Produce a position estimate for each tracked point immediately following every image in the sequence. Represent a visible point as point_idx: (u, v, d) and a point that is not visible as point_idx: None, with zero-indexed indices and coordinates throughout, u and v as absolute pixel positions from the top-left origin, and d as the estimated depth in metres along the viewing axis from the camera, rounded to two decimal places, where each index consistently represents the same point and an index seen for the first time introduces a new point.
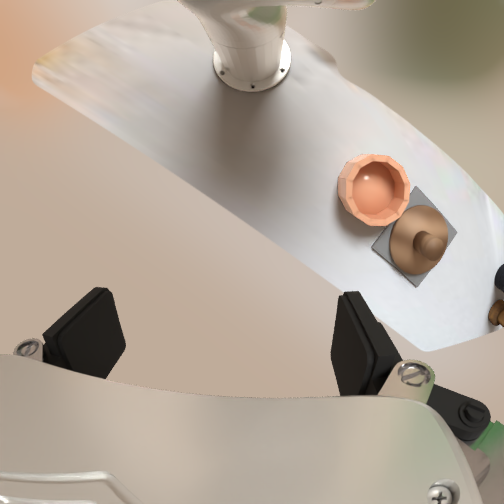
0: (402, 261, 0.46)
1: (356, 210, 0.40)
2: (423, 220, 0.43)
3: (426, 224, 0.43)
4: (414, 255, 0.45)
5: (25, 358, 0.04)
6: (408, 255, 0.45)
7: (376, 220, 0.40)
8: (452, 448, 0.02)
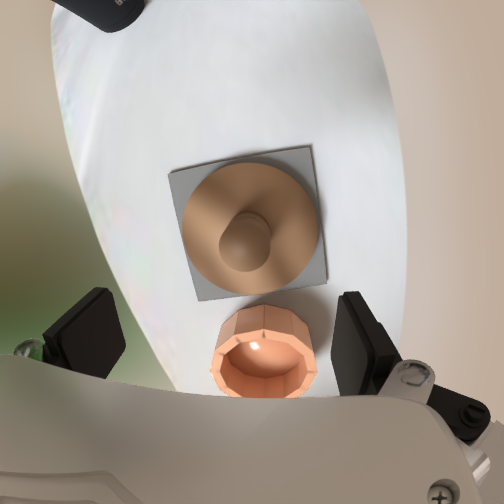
0: (305, 231, 0.26)
1: (309, 374, 0.27)
2: (222, 261, 0.27)
3: None
4: (278, 221, 0.26)
5: (25, 358, 0.04)
6: (288, 229, 0.26)
7: (298, 349, 0.26)
8: (452, 448, 0.02)
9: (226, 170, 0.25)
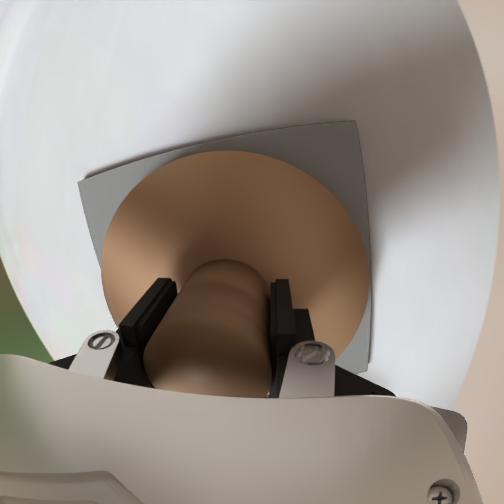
0: (344, 298, 0.12)
1: None
2: None
3: None
4: (289, 279, 0.12)
5: (25, 358, 0.04)
6: (309, 296, 0.12)
7: None
8: (452, 448, 0.02)
9: (174, 170, 0.11)
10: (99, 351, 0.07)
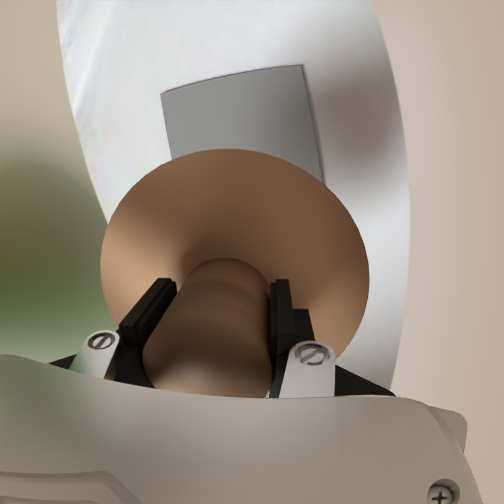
0: (344, 296, 0.12)
1: None
2: None
3: None
4: (289, 278, 0.12)
5: (25, 358, 0.04)
6: (309, 295, 0.12)
7: None
8: (452, 448, 0.02)
9: (174, 168, 0.11)
10: (99, 351, 0.07)
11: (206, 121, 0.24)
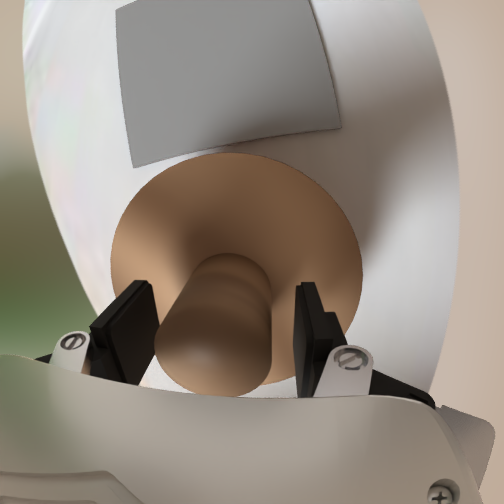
0: (339, 289, 0.13)
1: None
2: None
3: None
4: (288, 272, 0.13)
5: (25, 358, 0.04)
6: None
7: None
8: (452, 448, 0.02)
9: (181, 170, 0.12)
10: (72, 351, 0.07)
11: (167, 28, 0.14)
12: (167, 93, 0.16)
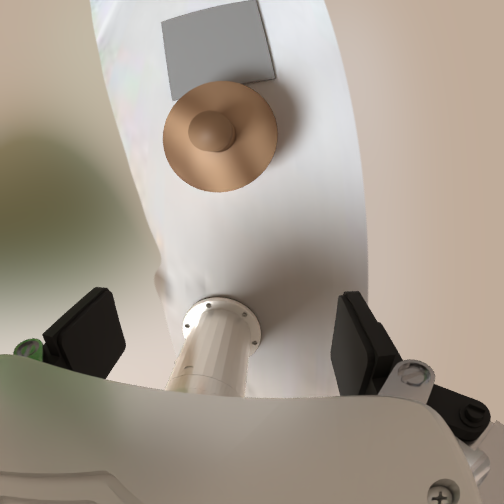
0: (266, 132, 0.29)
1: None
2: (195, 161, 0.30)
3: (195, 152, 0.30)
4: (242, 124, 0.28)
5: (25, 358, 0.04)
6: (251, 131, 0.29)
7: None
8: (452, 448, 0.02)
9: (200, 88, 0.27)
10: (29, 357, 0.06)
11: (191, 34, 0.29)
12: (191, 65, 0.31)
